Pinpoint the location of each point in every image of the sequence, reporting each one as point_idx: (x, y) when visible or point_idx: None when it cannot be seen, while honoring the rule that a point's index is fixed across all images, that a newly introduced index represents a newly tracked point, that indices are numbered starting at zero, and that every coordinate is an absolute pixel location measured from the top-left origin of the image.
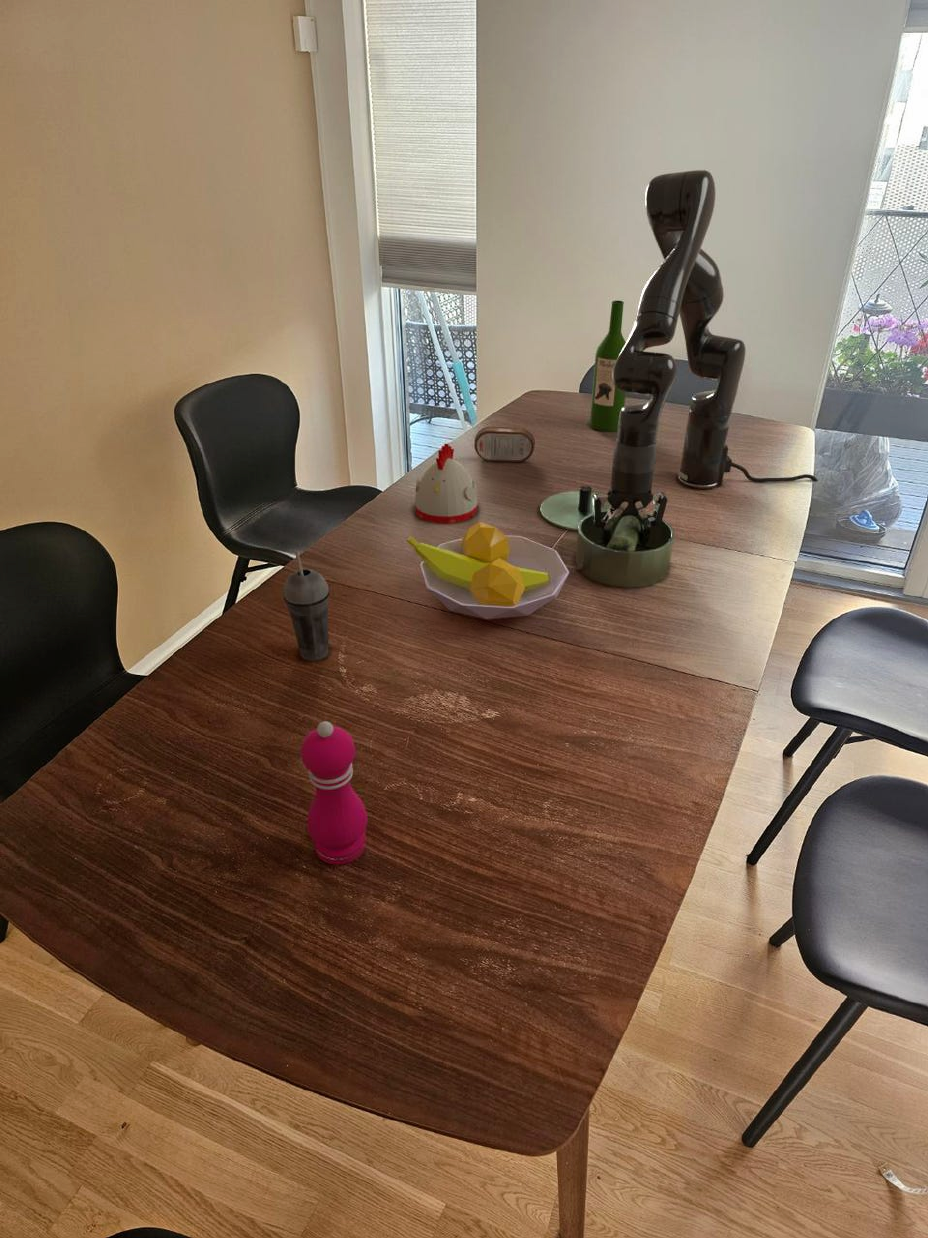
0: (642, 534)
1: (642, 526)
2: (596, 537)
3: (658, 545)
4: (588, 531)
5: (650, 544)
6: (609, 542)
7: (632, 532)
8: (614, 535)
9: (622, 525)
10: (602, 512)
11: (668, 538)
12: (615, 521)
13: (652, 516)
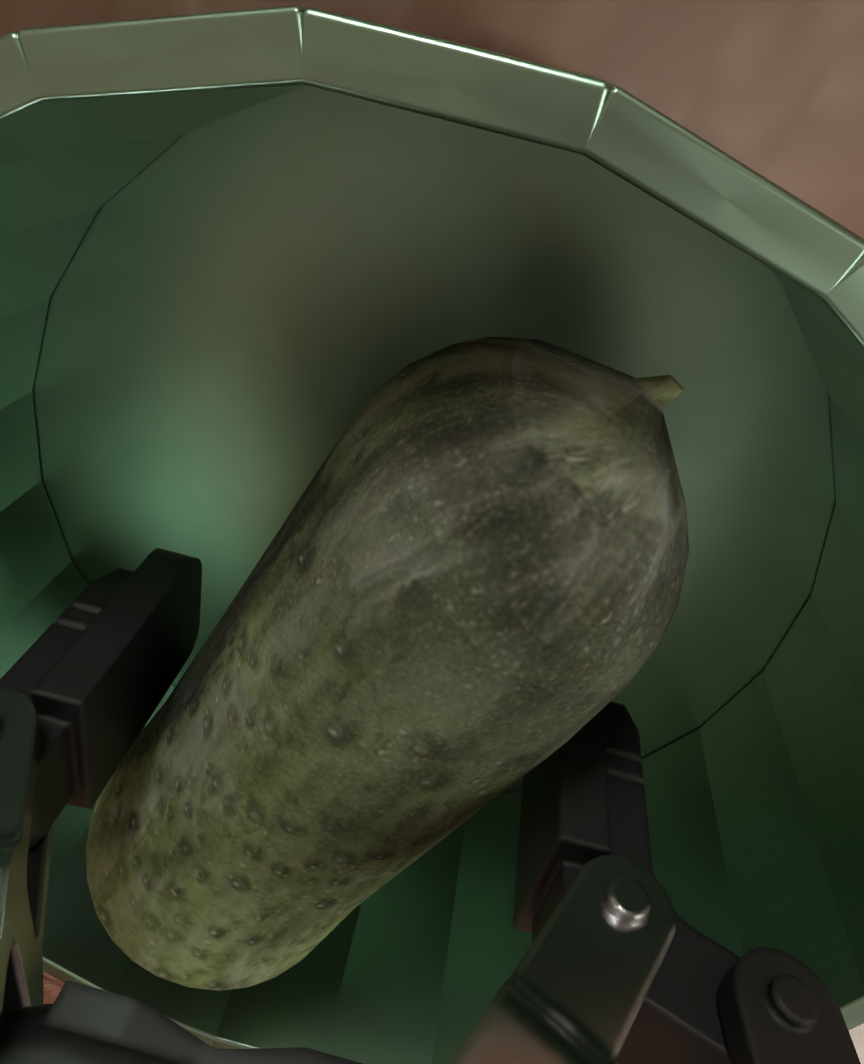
0: (526, 830)
1: (542, 876)
2: (233, 104)
3: (859, 536)
4: (19, 197)
5: (839, 410)
6: (87, 853)
7: (360, 885)
8: (145, 823)
9: (273, 772)
10: (84, 95)
11: (859, 829)
12: (40, 988)
13: (738, 1018)
